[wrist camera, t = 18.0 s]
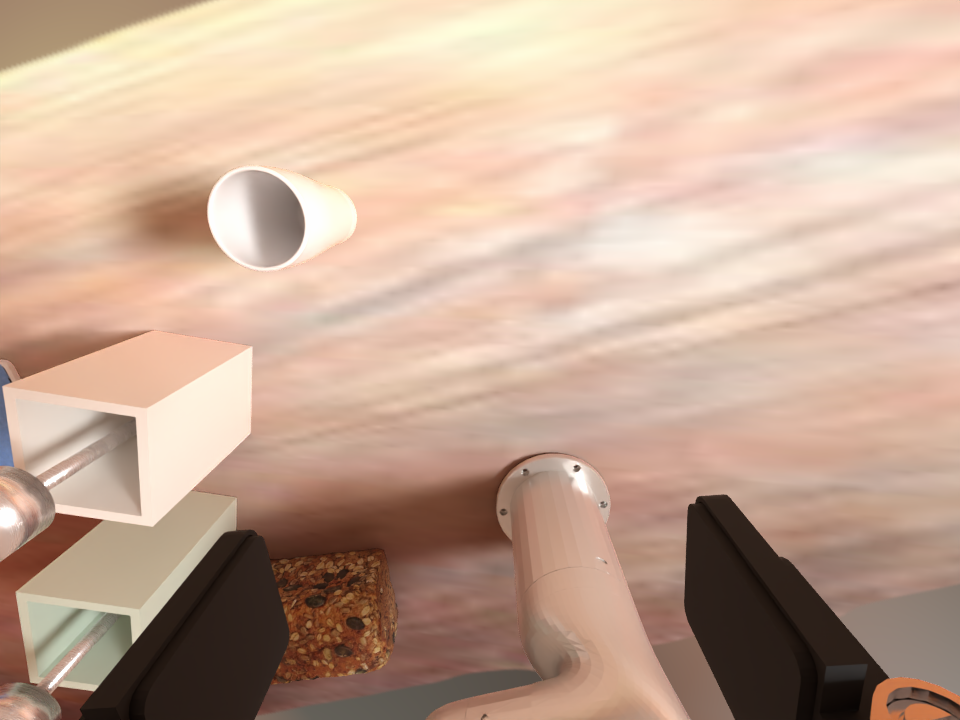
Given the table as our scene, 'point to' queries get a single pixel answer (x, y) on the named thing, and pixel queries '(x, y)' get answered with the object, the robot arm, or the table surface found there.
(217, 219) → the drinking glass
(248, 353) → the press white
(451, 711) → the robot arm
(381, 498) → the table surface
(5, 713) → the silver rod piece
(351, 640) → the bread
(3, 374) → the tablet computer
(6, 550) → the plunger white
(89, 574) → the press sage
